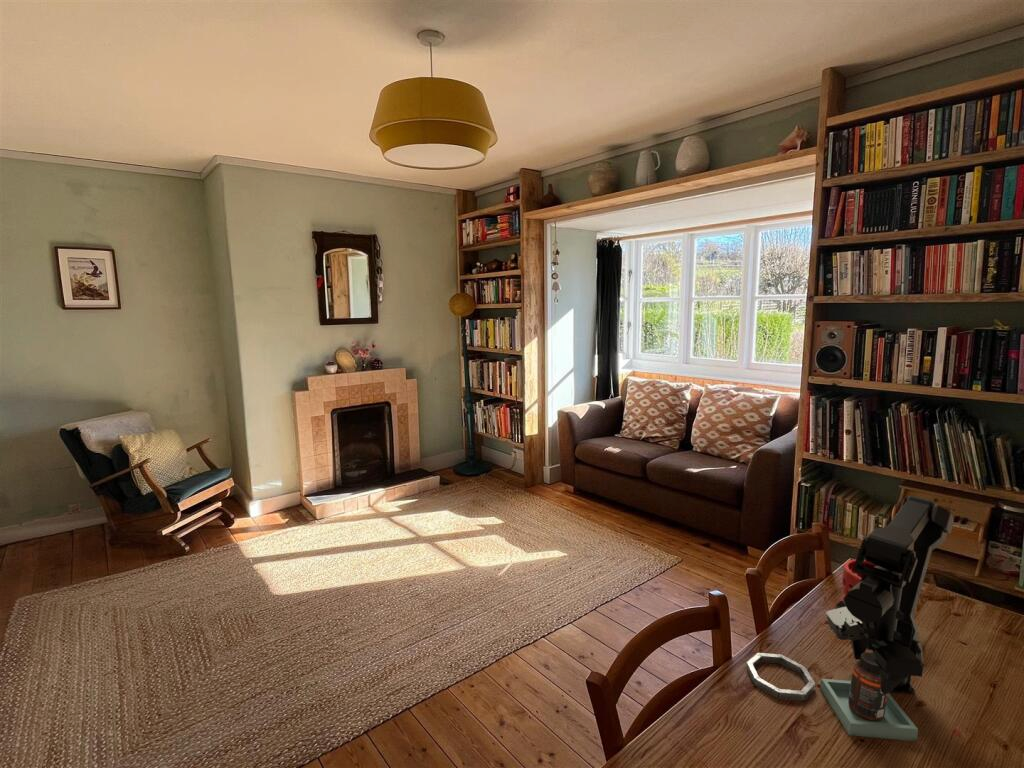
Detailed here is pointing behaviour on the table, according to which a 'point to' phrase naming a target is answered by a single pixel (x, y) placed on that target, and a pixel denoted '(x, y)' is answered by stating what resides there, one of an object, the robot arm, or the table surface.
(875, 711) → the supplement bottle
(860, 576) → the plant pot
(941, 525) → the robot arm
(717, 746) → the table surface
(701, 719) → the table surface
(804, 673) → the holder ring
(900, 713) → the tray
